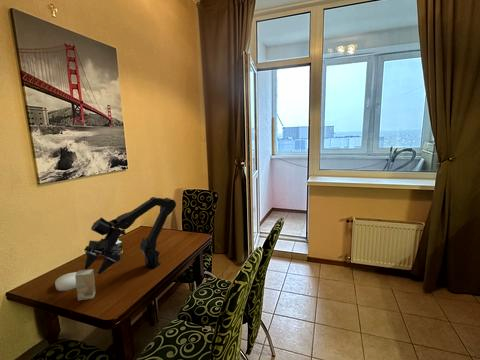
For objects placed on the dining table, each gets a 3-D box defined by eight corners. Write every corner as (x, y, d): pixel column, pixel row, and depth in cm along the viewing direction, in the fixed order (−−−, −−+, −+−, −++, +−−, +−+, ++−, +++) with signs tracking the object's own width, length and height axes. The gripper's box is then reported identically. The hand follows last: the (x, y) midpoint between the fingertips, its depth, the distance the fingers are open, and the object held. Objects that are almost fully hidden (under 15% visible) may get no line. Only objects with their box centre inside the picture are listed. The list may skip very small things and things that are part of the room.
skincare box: (77, 301, 112) (73, 275, 110) (80, 295, 116) (77, 270, 114) (94, 298, 114) (90, 273, 111) (96, 292, 118) (93, 268, 115)
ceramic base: (88, 280, 128) (87, 274, 127) (66, 293, 118) (65, 287, 117) (72, 275, 132) (72, 270, 131) (50, 288, 122) (49, 282, 121)
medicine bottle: (111, 257, 151) (109, 238, 149) (105, 253, 156) (103, 235, 153) (123, 252, 157) (121, 234, 155) (117, 249, 161) (115, 231, 159)
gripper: (85, 229, 122) (64, 261, 114) (112, 236, 114) (92, 270, 106) (102, 238, 130) (83, 269, 122) (128, 245, 122) (110, 278, 114)
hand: (91, 271), depth 116 cm, fingers open, 9 cm apart
